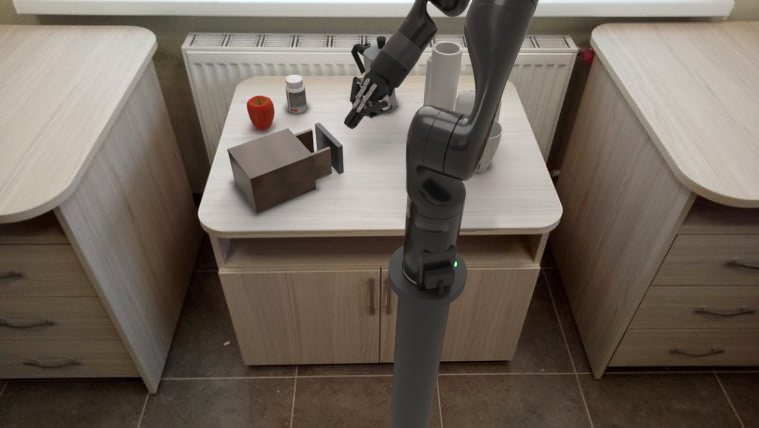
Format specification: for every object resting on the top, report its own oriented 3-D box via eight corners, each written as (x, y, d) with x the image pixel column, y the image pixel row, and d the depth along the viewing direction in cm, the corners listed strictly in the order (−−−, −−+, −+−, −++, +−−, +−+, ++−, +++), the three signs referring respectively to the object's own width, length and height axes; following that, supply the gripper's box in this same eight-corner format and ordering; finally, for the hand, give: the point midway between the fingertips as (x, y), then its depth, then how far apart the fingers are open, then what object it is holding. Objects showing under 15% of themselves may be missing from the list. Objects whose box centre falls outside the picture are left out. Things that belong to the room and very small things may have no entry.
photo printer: (451, 140, 127) (457, 94, 119) (451, 129, 130) (457, 84, 122) (495, 143, 127) (504, 97, 118) (494, 132, 130) (503, 87, 121)
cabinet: (292, 161, 121) (287, 127, 115) (316, 189, 114) (313, 155, 108) (234, 183, 115) (227, 149, 109) (256, 213, 109) (249, 179, 102)
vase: (454, 132, 130) (465, 55, 116) (424, 132, 130) (431, 55, 116) (449, 106, 138) (458, 31, 124) (421, 105, 138) (427, 30, 124)
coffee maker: (410, 104, 138) (414, 38, 125) (391, 120, 133) (394, 53, 120) (362, 86, 144) (362, 21, 131) (343, 101, 139) (340, 34, 126)
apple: (281, 124, 131) (278, 97, 126) (265, 137, 127) (260, 109, 122) (262, 116, 133) (257, 89, 128) (244, 128, 130) (239, 101, 124)
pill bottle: (310, 108, 136) (308, 78, 130) (296, 115, 134) (293, 85, 128) (298, 101, 139) (295, 71, 133) (284, 108, 136) (280, 78, 130)
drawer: (326, 147, 123) (324, 120, 118) (348, 170, 117) (347, 143, 112) (271, 168, 118) (266, 140, 113) (292, 193, 112) (288, 166, 107)
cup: (451, 159, 122) (456, 122, 115) (481, 149, 125) (487, 112, 118) (471, 180, 117) (478, 142, 110) (502, 169, 120) (510, 132, 113)
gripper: (368, 37, 114) (321, 105, 117) (405, 64, 106) (353, 135, 110) (388, 54, 120) (343, 118, 123) (425, 81, 112) (375, 148, 115)
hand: (348, 126), depth 116 cm, fingers closed
